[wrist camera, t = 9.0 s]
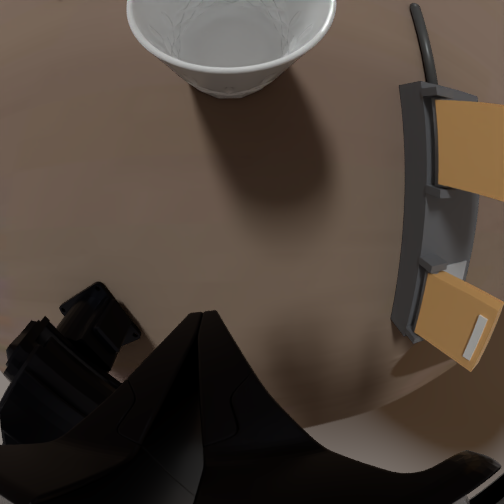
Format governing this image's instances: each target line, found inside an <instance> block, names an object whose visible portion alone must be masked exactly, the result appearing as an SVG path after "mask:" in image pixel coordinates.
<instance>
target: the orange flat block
mask: <svg viewBox="0 0 504 504" xmlns="http://www.w3.org/2000/svg"><path fill="white" fill-rule="evenodd" d="M503 305H504V302H503V301H501V300H499V299H497V298H495V297H494V296H492V295H490V294H488V293H486V292H484V291H482V290H481V289H479V288H477V287H475V286H473V285H471V284H469V283H467V282H465V281H463V280H461V279H459V278H457V277H455V276H453V275H451V274H449V273H447V272H445V271H443V270H442V271H438V272H434V273H430V272H428V271H427V270H426V272H425V277H424V283H423V288H422V293H421V297H420V302H419V306H418V310H417V314H416V318H415V322H414V326H413V332H414V333H415V334H418V335H419V336H421V337H422V338H423V339H425V340H426V341H428V342H429V343H431V344H432V345H433V346H435V347H436V348H438V349H439V350H441V351H442V352H443V353H445V354H446V355H448V356H449V357H450V358H452V359H453V360H455V361H456V362H457V363H459V364H460V365H462V366H463V367H465V368H466V369H467V370H469V371H470V372H471V371H472V370H473V369H474V367H475V366H476V365H477V364H478V362H479V360H480V358H481V356H482V354H483V352H484V350H485V348H486V346H487V344H488V342H489V339H490V337H491V335H492V332H493V330H494V328H495V326H496V323H497V320H498V318H499V315H500V313H501V310H502V307H503Z"/></svg>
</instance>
